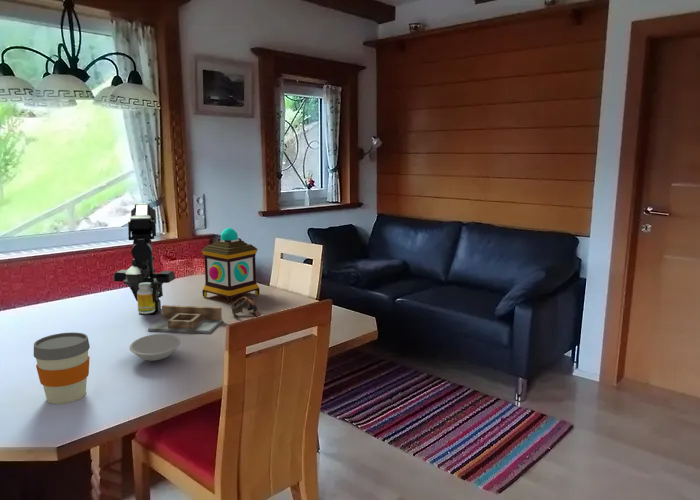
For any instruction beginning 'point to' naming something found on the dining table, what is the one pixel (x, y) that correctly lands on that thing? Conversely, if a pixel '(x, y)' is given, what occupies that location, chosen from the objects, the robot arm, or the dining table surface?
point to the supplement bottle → (145, 298)
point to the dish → (155, 346)
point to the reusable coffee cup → (63, 366)
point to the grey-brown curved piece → (244, 305)
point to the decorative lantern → (230, 266)
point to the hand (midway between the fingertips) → (146, 301)
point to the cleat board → (188, 319)
